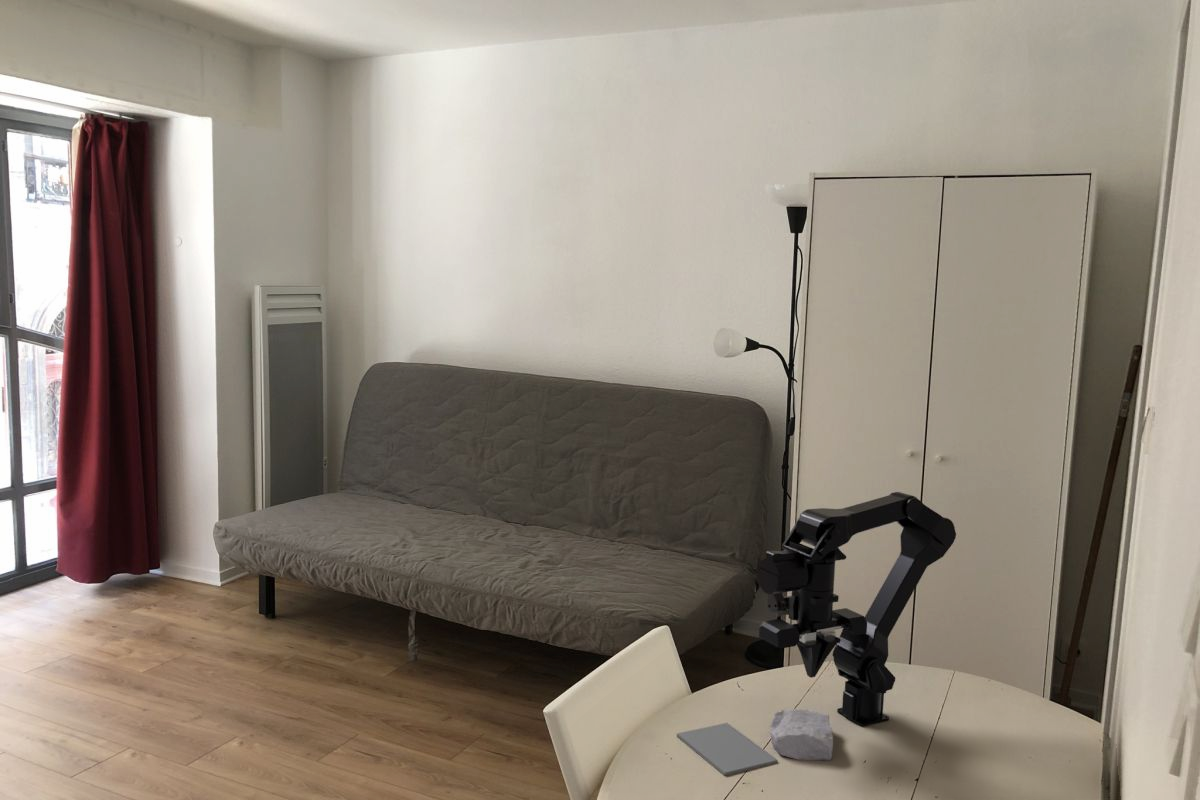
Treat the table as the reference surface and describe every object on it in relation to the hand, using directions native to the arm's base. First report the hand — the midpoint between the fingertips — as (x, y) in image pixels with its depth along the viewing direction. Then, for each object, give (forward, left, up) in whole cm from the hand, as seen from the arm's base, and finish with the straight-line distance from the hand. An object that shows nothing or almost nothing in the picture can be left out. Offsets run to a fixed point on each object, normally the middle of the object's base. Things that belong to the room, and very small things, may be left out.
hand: (811, 676), depth 159 cm
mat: (+17, 0, -10) cm, 19 cm away
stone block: (+8, 0, -9) cm, 12 cm away
